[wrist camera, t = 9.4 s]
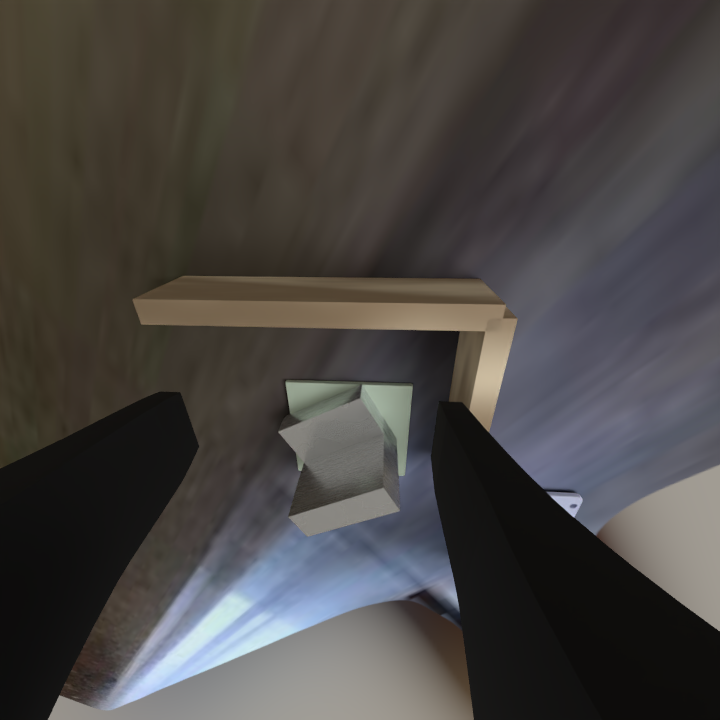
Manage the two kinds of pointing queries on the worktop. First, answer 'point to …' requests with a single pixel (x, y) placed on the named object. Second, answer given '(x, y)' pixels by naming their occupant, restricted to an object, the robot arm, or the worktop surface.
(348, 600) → the worktop surface
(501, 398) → the worktop surface
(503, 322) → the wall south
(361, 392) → the bracket
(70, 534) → the robot arm
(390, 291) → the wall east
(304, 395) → the pad
